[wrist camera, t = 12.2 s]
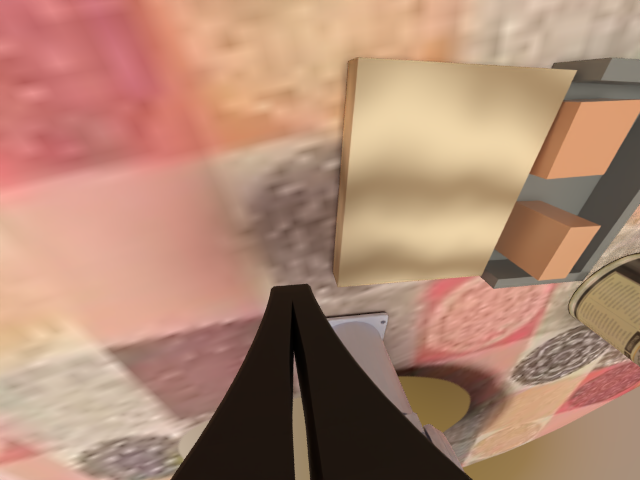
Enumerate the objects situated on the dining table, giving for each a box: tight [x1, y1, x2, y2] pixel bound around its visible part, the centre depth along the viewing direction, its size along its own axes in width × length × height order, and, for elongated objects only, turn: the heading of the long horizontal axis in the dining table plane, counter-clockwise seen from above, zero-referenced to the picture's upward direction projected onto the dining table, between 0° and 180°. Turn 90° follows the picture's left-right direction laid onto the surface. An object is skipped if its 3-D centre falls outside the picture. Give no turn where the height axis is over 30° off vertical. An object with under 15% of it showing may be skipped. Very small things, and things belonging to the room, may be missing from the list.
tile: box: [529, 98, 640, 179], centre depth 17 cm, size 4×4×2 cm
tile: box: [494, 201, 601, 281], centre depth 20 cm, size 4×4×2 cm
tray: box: [480, 58, 640, 289], centre depth 19 cm, size 16×9×3 cm, turn 178°
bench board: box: [333, 57, 577, 287], centre depth 18 cm, size 15×13×2 cm
